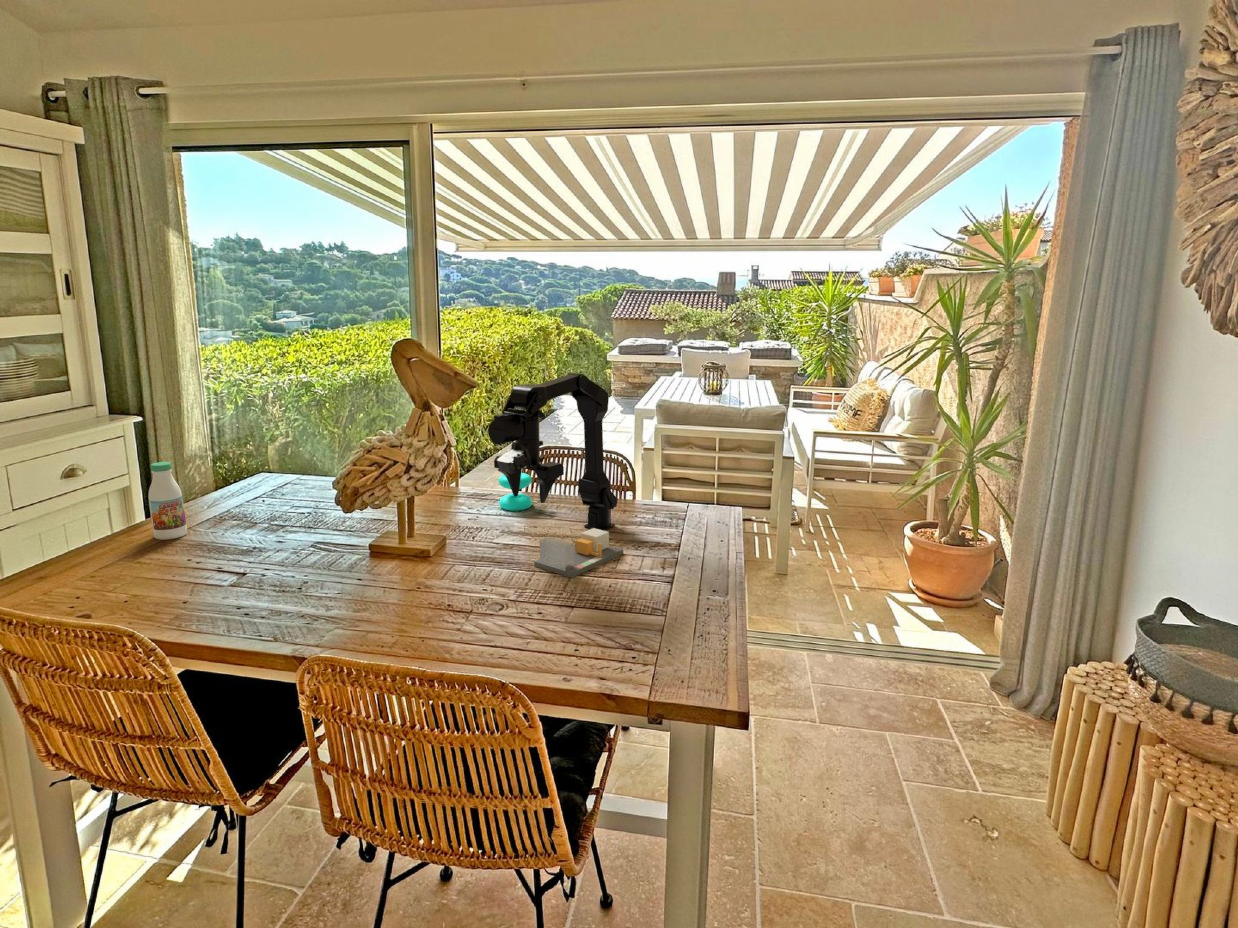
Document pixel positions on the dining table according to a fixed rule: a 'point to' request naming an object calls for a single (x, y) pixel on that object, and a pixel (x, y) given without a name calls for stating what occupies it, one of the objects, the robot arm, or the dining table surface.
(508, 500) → the donuts
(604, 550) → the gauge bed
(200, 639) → the dining table surface
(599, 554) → the needle rider
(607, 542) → the block
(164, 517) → the milk bottle
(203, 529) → the dining table surface
